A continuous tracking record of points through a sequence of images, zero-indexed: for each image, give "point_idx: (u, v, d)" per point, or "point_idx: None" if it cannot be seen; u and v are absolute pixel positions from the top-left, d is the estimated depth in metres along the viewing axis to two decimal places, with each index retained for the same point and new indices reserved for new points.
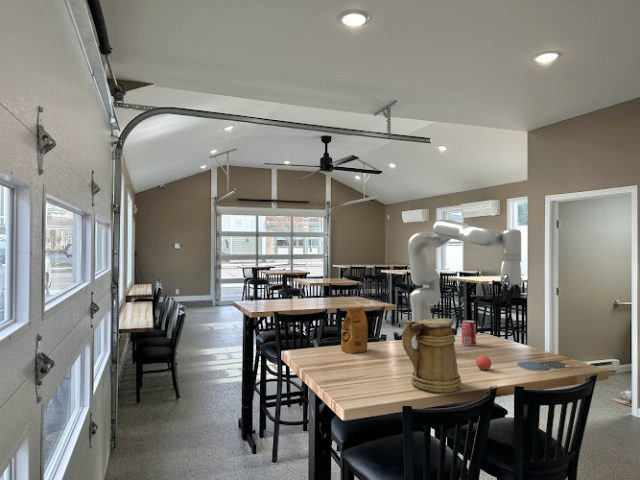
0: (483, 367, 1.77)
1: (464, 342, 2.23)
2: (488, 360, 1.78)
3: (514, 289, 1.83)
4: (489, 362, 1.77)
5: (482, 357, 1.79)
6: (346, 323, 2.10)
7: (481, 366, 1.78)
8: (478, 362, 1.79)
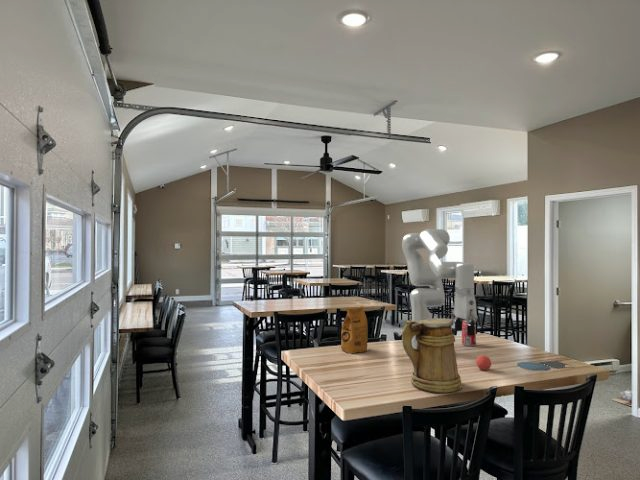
0: (483, 367, 1.77)
1: (464, 342, 2.23)
2: (488, 360, 1.78)
3: None
4: (489, 362, 1.77)
5: (482, 357, 1.79)
6: (346, 323, 2.10)
7: (481, 366, 1.78)
8: (478, 362, 1.79)
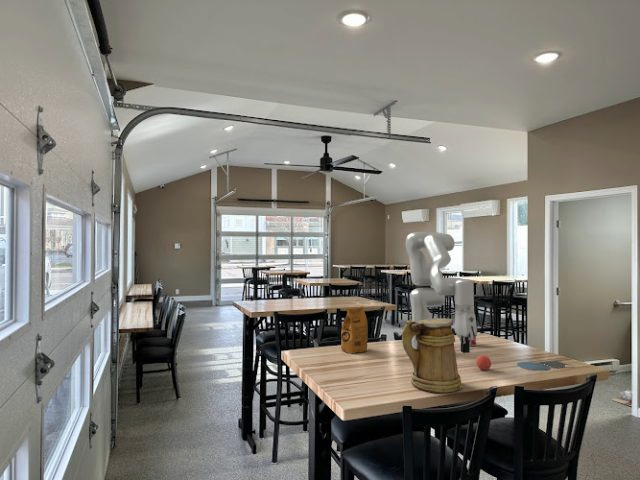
0: (483, 367, 1.77)
1: None
2: (488, 360, 1.78)
3: None
4: (489, 362, 1.77)
5: (482, 357, 1.79)
6: (346, 323, 2.10)
7: (481, 366, 1.78)
8: (478, 362, 1.79)
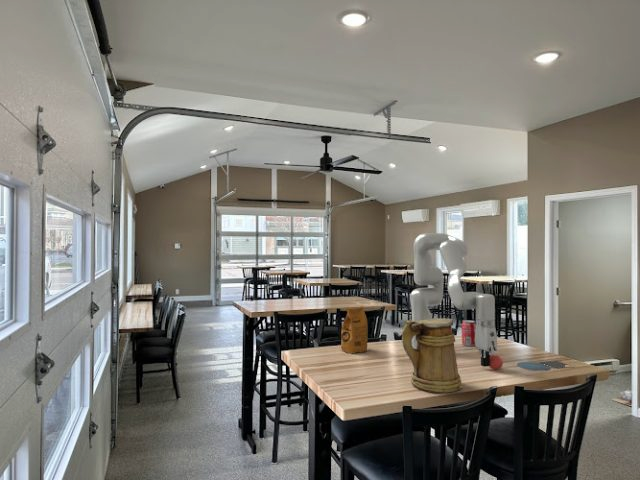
0: (494, 360, 1.78)
1: (464, 342, 2.23)
2: (501, 365, 1.79)
3: None
4: (500, 366, 1.78)
5: (501, 359, 1.80)
6: (346, 323, 2.10)
7: (494, 358, 1.79)
8: (496, 356, 1.80)
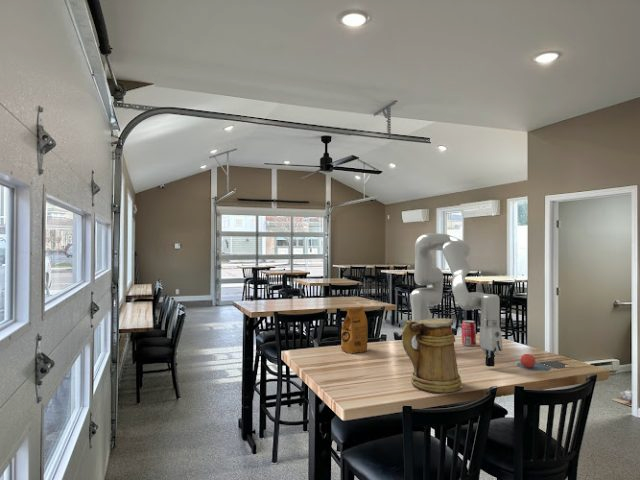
0: (527, 364, 1.81)
1: (464, 342, 2.23)
2: (534, 359, 1.81)
3: None
4: (534, 361, 1.81)
5: (529, 355, 1.82)
6: (346, 323, 2.10)
7: (525, 362, 1.81)
8: (523, 358, 1.82)
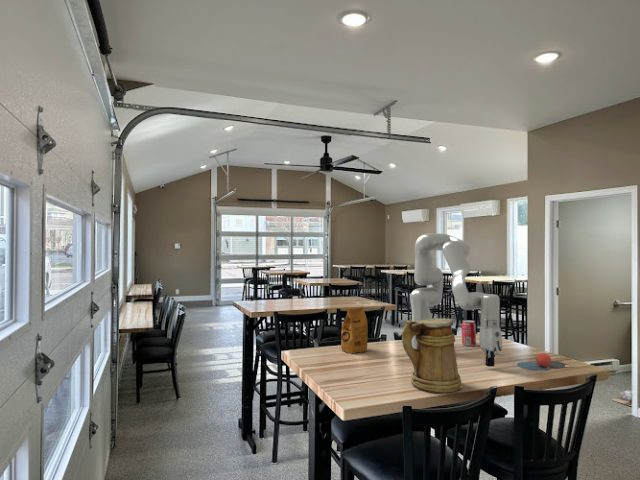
0: (549, 357, 1.83)
1: (464, 342, 2.23)
2: (546, 365, 1.82)
3: None
4: (545, 364, 1.82)
5: None
6: (346, 323, 2.10)
7: None
8: None
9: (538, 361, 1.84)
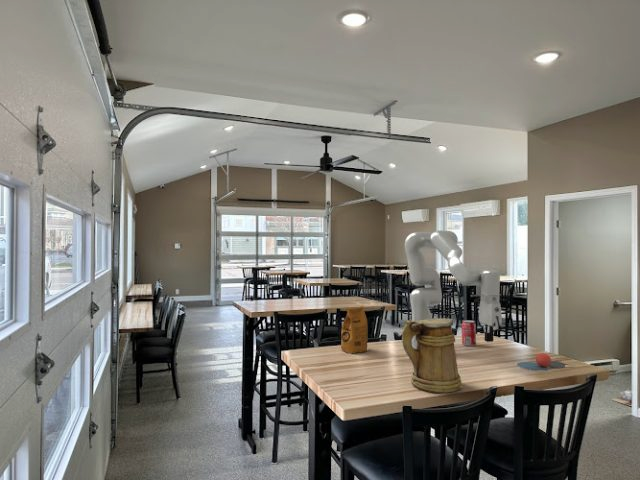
0: (549, 357, 1.83)
1: (464, 342, 2.23)
2: (546, 365, 1.82)
3: None
4: (545, 364, 1.82)
5: None
6: (346, 323, 2.10)
7: None
8: None
9: (538, 361, 1.84)
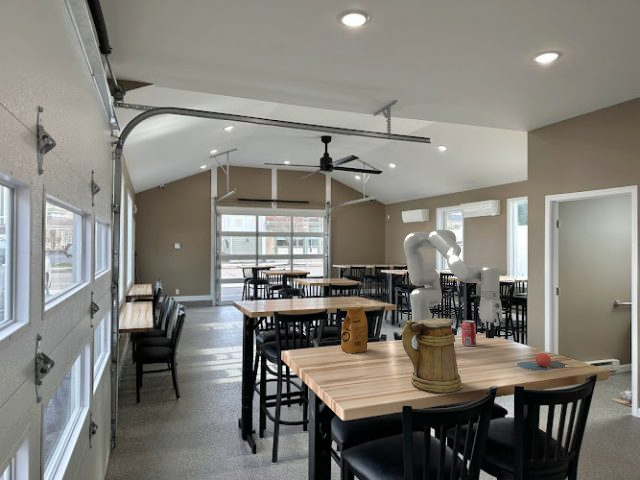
0: (549, 357, 1.83)
1: (464, 342, 2.23)
2: (546, 365, 1.82)
3: None
4: (545, 364, 1.82)
5: None
6: (346, 323, 2.10)
7: None
8: None
9: (538, 361, 1.84)
